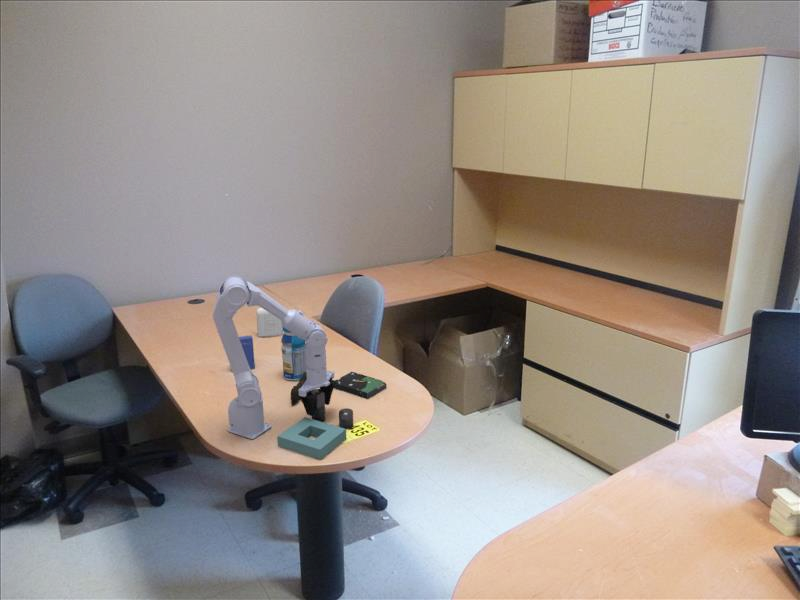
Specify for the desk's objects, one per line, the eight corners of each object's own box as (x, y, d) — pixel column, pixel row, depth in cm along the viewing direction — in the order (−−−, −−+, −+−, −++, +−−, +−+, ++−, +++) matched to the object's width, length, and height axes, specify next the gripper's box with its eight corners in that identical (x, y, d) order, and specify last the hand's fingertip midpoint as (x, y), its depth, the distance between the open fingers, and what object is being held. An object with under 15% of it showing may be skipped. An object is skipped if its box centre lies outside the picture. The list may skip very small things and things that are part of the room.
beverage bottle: (305, 381, 196) (303, 325, 190) (280, 381, 196) (277, 325, 191) (310, 371, 204) (307, 317, 198) (285, 371, 205) (282, 316, 199)
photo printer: (283, 332, 242) (281, 304, 238) (283, 336, 238) (281, 307, 234) (257, 334, 240) (255, 305, 236) (257, 338, 236) (255, 308, 232)
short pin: (336, 427, 167) (336, 413, 166) (344, 421, 171) (344, 407, 169) (348, 430, 166) (347, 416, 164) (355, 424, 169) (355, 410, 168)
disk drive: (332, 389, 192) (368, 400, 184) (331, 381, 191) (368, 392, 183) (351, 378, 200) (387, 388, 192) (351, 371, 199) (387, 381, 191)
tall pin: (309, 421, 171) (307, 393, 168) (317, 415, 174) (315, 387, 171) (320, 424, 169) (319, 396, 166) (328, 418, 172) (327, 390, 169)
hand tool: (304, 380, 198) (303, 368, 196) (315, 381, 197) (315, 368, 196) (283, 406, 180) (282, 392, 179) (296, 407, 179) (295, 393, 178)
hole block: (278, 446, 158) (277, 436, 157) (305, 426, 168) (304, 417, 167) (320, 459, 151) (320, 449, 150) (346, 438, 161) (346, 428, 160)
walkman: (253, 365, 209) (251, 334, 205) (254, 368, 207) (252, 336, 203) (230, 369, 206) (227, 337, 202) (232, 372, 204) (229, 340, 200)
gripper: (312, 378, 158) (314, 423, 162) (342, 360, 171) (343, 402, 175) (291, 373, 162) (294, 417, 166) (322, 355, 174) (324, 397, 178)
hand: (318, 409), depth 170 cm, fingers open, 7 cm apart
